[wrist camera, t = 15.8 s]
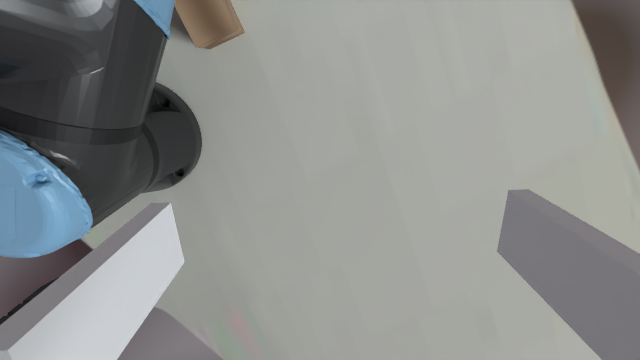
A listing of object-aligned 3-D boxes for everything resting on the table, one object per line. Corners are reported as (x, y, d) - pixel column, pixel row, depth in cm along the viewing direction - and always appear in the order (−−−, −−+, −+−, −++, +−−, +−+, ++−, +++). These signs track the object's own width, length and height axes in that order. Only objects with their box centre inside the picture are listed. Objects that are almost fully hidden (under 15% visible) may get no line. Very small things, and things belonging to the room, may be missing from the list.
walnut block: (210, 49, 39) (195, 46, 34) (189, 8, 38) (171, 0, 33) (244, 32, 38) (234, 27, 34) (225, -10, 37) (211, -21, 32)
